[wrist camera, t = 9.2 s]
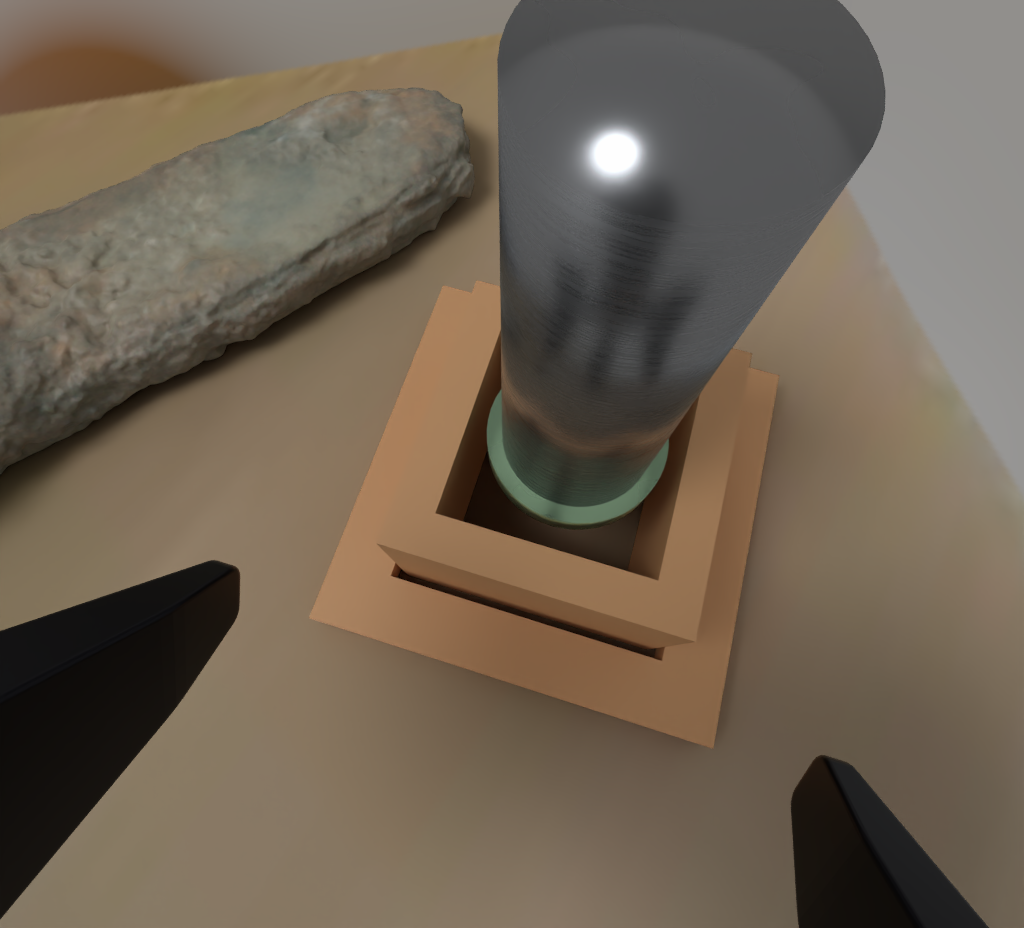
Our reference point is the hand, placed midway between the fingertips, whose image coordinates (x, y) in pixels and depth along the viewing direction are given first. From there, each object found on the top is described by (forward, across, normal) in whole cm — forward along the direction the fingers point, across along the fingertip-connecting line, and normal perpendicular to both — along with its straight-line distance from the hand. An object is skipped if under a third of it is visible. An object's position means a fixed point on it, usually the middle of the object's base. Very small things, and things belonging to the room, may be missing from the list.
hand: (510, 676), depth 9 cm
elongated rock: (+14, +19, +3) cm, 24 cm away
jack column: (+9, 0, 0) cm, 9 cm away
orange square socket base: (+12, 0, +4) cm, 13 cm away
